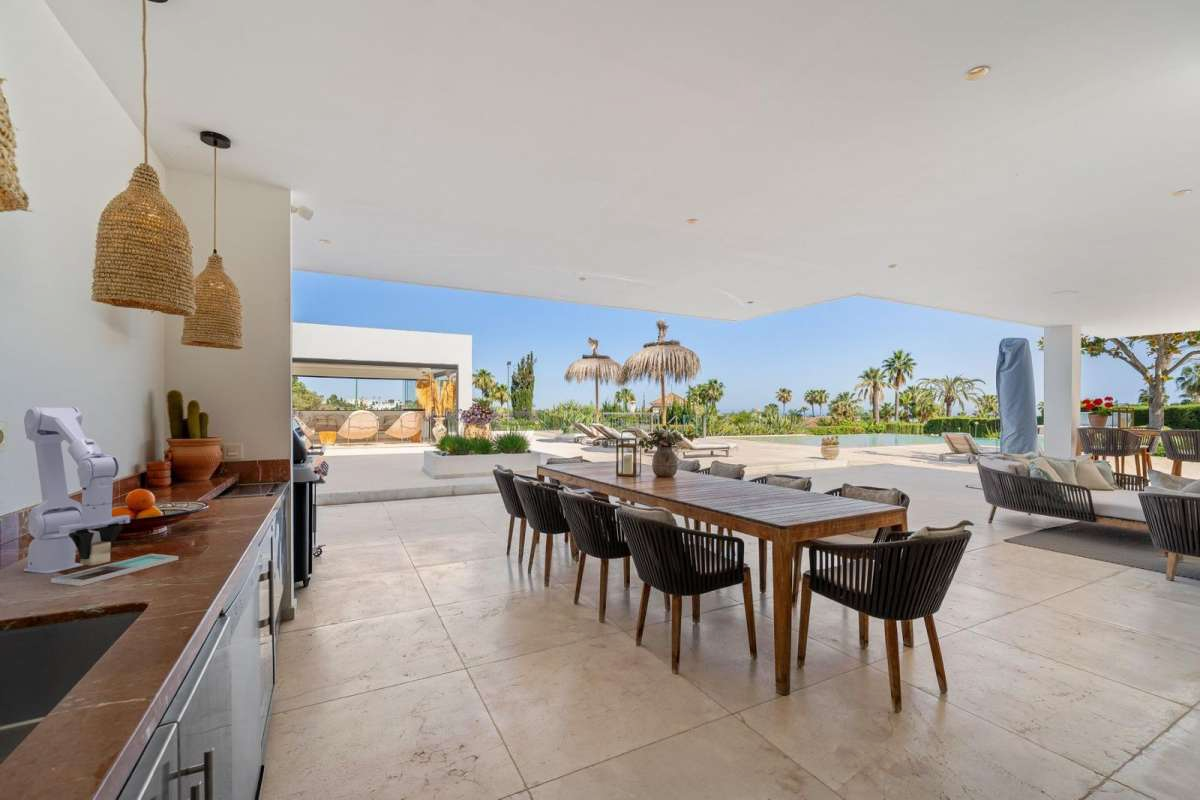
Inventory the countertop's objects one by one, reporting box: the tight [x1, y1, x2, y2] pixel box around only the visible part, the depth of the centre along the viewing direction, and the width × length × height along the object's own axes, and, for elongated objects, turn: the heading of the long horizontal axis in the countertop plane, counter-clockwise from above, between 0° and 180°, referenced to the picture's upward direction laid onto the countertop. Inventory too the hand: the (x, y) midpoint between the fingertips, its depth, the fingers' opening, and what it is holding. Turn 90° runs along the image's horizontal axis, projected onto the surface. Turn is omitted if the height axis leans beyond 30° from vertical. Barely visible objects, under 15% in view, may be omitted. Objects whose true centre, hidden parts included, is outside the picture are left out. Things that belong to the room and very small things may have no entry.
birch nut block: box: [79, 540, 112, 566], centre depth 135 cm, size 4×4×5 cm
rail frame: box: [50, 553, 179, 587], centre depth 141 cm, size 10×24×1 cm, turn 167°
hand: (95, 556), depth 135 cm, fingers closed on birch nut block, 4 cm apart
